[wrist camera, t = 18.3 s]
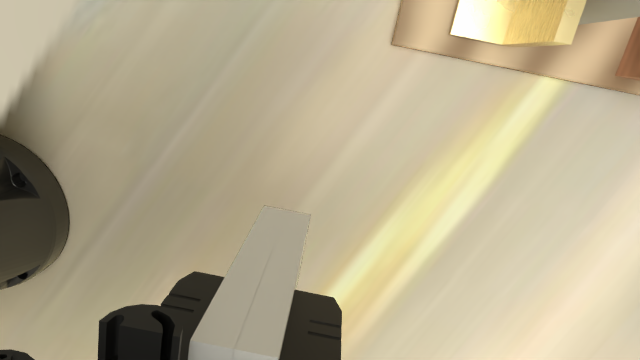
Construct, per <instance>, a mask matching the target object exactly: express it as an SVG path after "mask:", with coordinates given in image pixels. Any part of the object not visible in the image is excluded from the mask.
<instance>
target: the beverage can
mask: <svg viewBox="0 0 640 360" xmlns="http://www.w3.org/2000/svg"><path fill="white" fill-rule="evenodd" d="M634 17H640V0H587V1H586V4H585V7H584V10H583V12H582V15H581V18H580V21H579V24H578V25H581V24H589V23H596V22H604V21H611V20H619V19H627V18H634Z"/></svg>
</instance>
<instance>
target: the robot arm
mask: <svg viewBox="0 0 640 360" xmlns="http://www.w3.org/2000/svg"><path fill="white" fill-rule="evenodd" d="M310 216H311V215H310V214H305V213H300V212H295V211H290V210H285V209H280V208H275V207H270V206H264V207H263V209H262V210H261V212H260V214H259V216H258V218H257V219H256V221H255V223H254V225H253V227H252V229H251V230H250V232H249V234H248V236H247V238H246V239H245V241H244V243H243V245H242V247H241V249H240V250H239V252H238V254H237V256H236V258H235V259H234V261H233V263H232V265H231V267H230V269H229V270H228V272H227V274H226V276H225V277H220V276H215V275H210V274H205V273H200V272H193V273H191V274H189V275H187V276H186V277H184V278H182V279H180V280H179V281H178V282H177V283H176V285H175V286H174V287H173V289H172V290H171V291H170V293H169V295H168V296H167V297H166V298H165V299H164V301H163V302H162V303H161V306H158V305H145V304H140V305H133V306H126V307H123V308H121V309H118V310H116V311H113V312H111V313H109V314H108V315H107V316H105V317H104V318H103V319H101V320H100V321H99V341H98V360H341V325H342V311H341V309H340V307H339V306H338V304H337V302H336V300H335V299H334V298H333V297H328V296H323V295H318V294H313V293H308V292H303V291H298V290H296V288H297V283H298V278H299V273H300V268H301V263H302V258H303V252H304V247H305V242H306V237H307V232H308V227H309V221H310ZM68 229H69V217H68V209H67V205H66V201H65V198H64V195H63V193H62V190H61V188H60V186H59V184H58V183H57V181H56V179H55V178H54V176H53V175H52V173H51V172H50V171H49V169H48V168H47V167H46V166H45V165H44V164H43V162H42V161H41V160H40V159H39V158H37V157H36V156H35V155H34V154H33V153H32V152H30V151H29V150H28V149H26V148H25V147H23V146H22V145H20V144H18V143H17V142H15V141H13V140H11V139H9V138H6V137H4V136H1V135H0V290H1V289H4V288H8V287H12V286H15V285H18V284H20V283H23V282H25V281H27V280H29V279H30V278H32V277H34V276H35V275H36V274H38V273H39V272H41V271H42V270H44V269H45V268H47V267H48V266H49V265H50V264H52V263H53V262H54V261H55V260H56V258H57V257H58V256H59V254H60V253H61V251H62V249H63V247H64V245H65V242H66V239H67V235H68ZM0 360H34V359H33V358H32V357H30V356H29V355H28V354H27V353H24V352H19V351H15V350H0Z"/></svg>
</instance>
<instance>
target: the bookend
mask: <svg viewBox="0 0 640 360" xmlns="http://www.w3.org/2000/svg"><path fill="white" fill-rule="evenodd" d="M586 1H587V0H458V2H457V6H456V10H455V13H454V17H453V21H452V25H451V28H450V32H449V35H454V36H459V37H464V38H469V39H473V40H478V41H483V42H488V43H493V44H498V45H503V46H508V47H532V46H552V45H571V43H572V41H573V38H574V35H575V32H576V29H577V26H578V24H579V21H580V18H581V15H582V12H583V10H584V7H585V4H586Z"/></svg>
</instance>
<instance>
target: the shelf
mask: <svg viewBox="0 0 640 360" xmlns="http://www.w3.org/2000/svg"><path fill="white" fill-rule="evenodd" d="M457 2H458V0H402V2H401V6H400V10H399V14H398V19H397V23H396V27H395V32H394V36H393V40H392V44H391V45H396V46H401V47H406V48H411V49H416V50H421V51H426V52H431V53H435V54H440V55H445V56H450V57H455V58H460V59H465V60H470V61H475V62H479V63H484V64H489V65H494V66H499V67H504V68H509V69H514V70H519V71H523V72H528V73H533V74H538V75H543V76H548V77H553V78H558V79H563V80H567V81H572V82H577V83H582V84H587V85H592V86H597V87H602V88H607V89H611V90H616V91H621V92H626V93H631V94H636V95H640V17H634V18H627V19H619V20H611V21H604V22H596V23H589V24H581V25H578V26H577V29H576V32H575V35H574V38H573V41H572V43H571V45H552V46H532V47H508V46H503V45H498V44H493V43H488V42H483V41H478V40H473V39H469V38H464V37H459V36H454V35H449V32H450V28H451V25H452V21H453V17H454V13H455V10H456V6H457Z"/></svg>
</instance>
